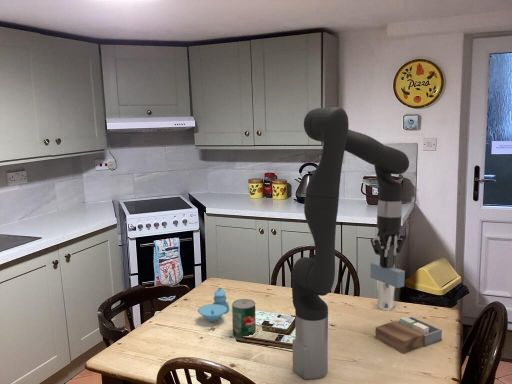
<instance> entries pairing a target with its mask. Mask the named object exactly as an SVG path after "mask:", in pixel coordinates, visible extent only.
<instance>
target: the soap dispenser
mask: <svg viewBox="0 0 512 384" xmlns="http://www.w3.org/2000/svg"><path fill="white" fill-rule="evenodd" d="M213 295H214V297H213V301H214V302H212V303H211V304H206V305H202V306H200V307H199V308H198V309H197V312H198V314H199V315H201V316H202V317H203V318H204V319H205V320H206V321H208V322H209V323H211V324H212V323H216V322H217V321H218V320H220V318H221V317H222V316H223V315H225V314H228V313H229V312H230V305H229V303H228V302H227V296H226V295H227V293H226V291H225V290H223V288H222V287H218V288H217V289H216V290H215V291H214V292H213Z"/></svg>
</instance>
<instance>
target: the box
mask: <svg viewBox="0 0 512 384" xmlns="http://www.w3.org/2000/svg"><path fill="white" fill-rule="evenodd" d="M407 318H409V319H412V320H414V321H416V323H417V322H418V323H421V324H423V325H425V326H427V327H429V334H426V335H424V343H423V347H426V346H430V345H432V344H435V343H438V342H440V341H442V337H443V335H442V334H443V330H442V329H440V328H439V327H436V326H434V325H432V324H429V323H427V322H424V321H423V320H420V319H418V318H416V317H413V316H408V317H407ZM395 321H396V322H399V323H400V319H399V320H395ZM413 330H414V329H413Z"/></svg>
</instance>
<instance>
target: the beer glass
mask: <svg viewBox="0 0 512 384" xmlns="http://www.w3.org/2000/svg"><path fill="white" fill-rule="evenodd" d="M376 288H377V295H378V299H377V301H378V302H377V305H376V307H377V308H378V309H379V310H382V311H391V310H394V308H395V307H394V302H393V301H394V293H395V289H396V287H393V286H391V285H388V284H386V283H383V282H381V281H378V280H376Z"/></svg>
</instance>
